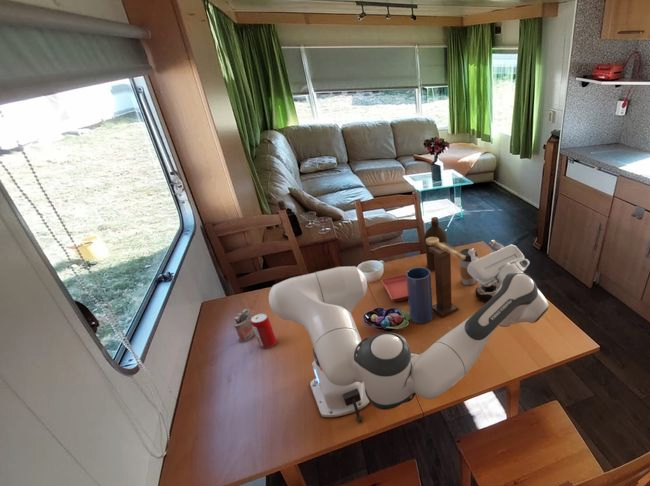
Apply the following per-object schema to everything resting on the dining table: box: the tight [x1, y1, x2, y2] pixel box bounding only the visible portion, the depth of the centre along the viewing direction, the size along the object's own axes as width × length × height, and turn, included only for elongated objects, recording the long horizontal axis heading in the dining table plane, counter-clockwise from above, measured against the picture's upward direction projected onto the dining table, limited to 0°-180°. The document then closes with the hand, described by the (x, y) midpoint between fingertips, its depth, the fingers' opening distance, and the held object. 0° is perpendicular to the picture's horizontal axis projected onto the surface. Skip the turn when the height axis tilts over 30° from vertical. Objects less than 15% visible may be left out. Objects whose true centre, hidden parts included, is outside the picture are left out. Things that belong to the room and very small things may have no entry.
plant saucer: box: [381, 273, 433, 303], centre depth 167 cm, size 18×18×3 cm
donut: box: [474, 284, 499, 303], centre depth 163 cm, size 12×12×4 cm
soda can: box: [251, 313, 277, 349], centre depth 134 cm, size 6×6×12 cm
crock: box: [405, 266, 434, 325], centre depth 146 cm, size 9×9×20 cm
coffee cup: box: [459, 248, 479, 286], centre depth 170 cm, size 8×8×15 cm
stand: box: [429, 242, 459, 318], centre depth 148 cm, size 8×8×28 cm
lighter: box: [232, 308, 256, 343], centre depth 139 cm, size 8×3×10 cm, turn 168°
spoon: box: [426, 237, 466, 260], centre depth 139 cm, size 21×5×1 cm, turn 41°
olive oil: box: [423, 216, 448, 272], centre depth 179 cm, size 11×11×25 cm
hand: (480, 245), depth 122 cm, fingers open, 8 cm apart
